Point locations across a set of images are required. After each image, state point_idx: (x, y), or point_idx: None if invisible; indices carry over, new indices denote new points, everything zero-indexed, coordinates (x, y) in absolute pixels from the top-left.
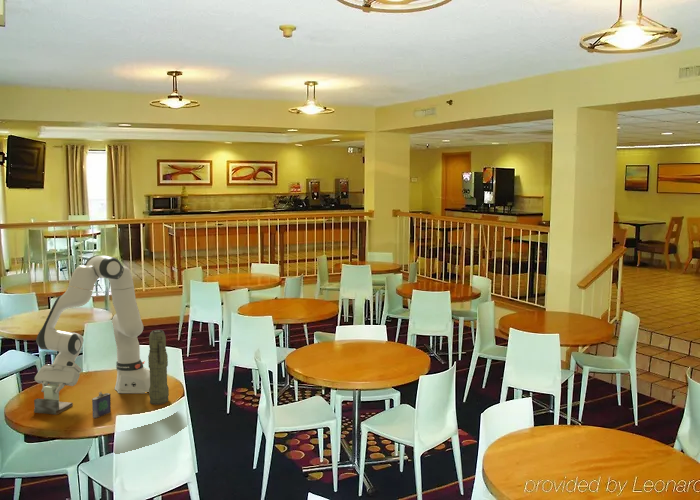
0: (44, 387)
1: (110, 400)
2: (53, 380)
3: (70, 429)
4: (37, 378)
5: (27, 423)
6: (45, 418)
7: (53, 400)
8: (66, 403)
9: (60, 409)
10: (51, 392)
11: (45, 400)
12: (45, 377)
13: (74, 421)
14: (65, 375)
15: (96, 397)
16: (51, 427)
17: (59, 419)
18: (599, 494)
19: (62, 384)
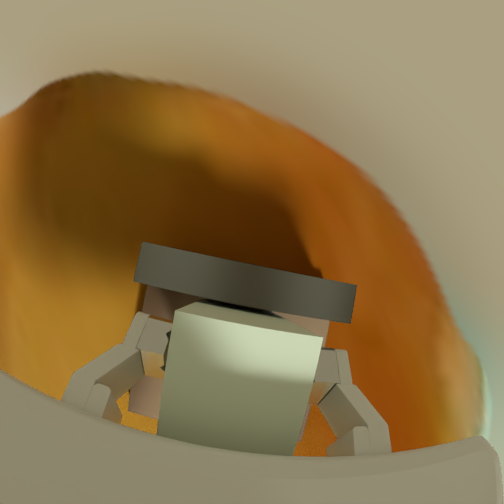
0: (309, 334)
1: None
2: (214, 462)
3: (52, 94)
4: (473, 454)
5: (272, 130)
6: (204, 195)
7: (174, 275)
8: (160, 401)
9: (146, 290)
10: (198, 308)
11: (250, 275)
12: (392, 499)
13: (45, 167)
14: (6, 491)
15: None
16: (127, 95)
17: (117, 184)
18: None
19: (71, 394)
